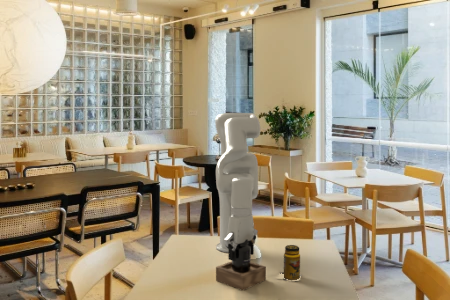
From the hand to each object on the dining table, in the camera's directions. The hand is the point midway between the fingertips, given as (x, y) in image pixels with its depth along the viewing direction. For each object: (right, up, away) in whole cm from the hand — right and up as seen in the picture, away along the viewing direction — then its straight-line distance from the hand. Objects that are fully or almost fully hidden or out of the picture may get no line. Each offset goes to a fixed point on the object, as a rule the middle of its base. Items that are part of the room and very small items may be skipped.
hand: (241, 257), depth 180 cm
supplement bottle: (0, -5, +1) cm, 5 cm away
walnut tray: (0, -9, +1) cm, 9 cm away
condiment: (+18, -9, +5) cm, 21 cm away
